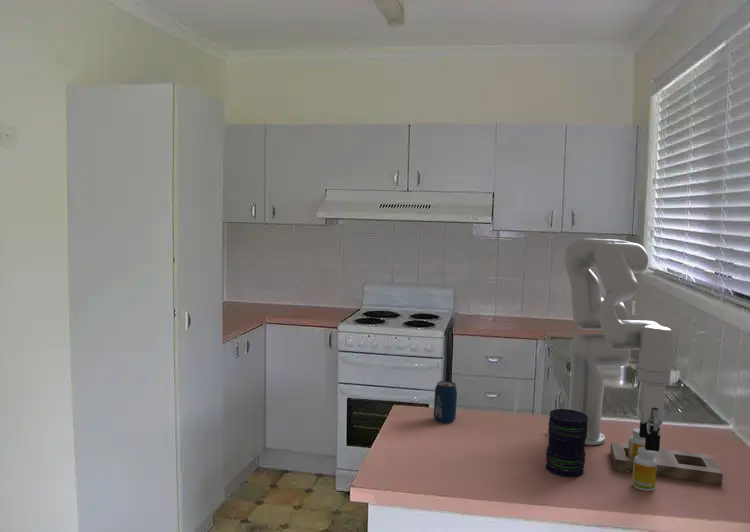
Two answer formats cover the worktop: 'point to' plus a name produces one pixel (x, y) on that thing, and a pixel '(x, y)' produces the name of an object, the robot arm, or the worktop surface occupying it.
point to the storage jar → (566, 443)
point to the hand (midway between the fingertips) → (648, 443)
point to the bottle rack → (673, 464)
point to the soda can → (445, 402)
